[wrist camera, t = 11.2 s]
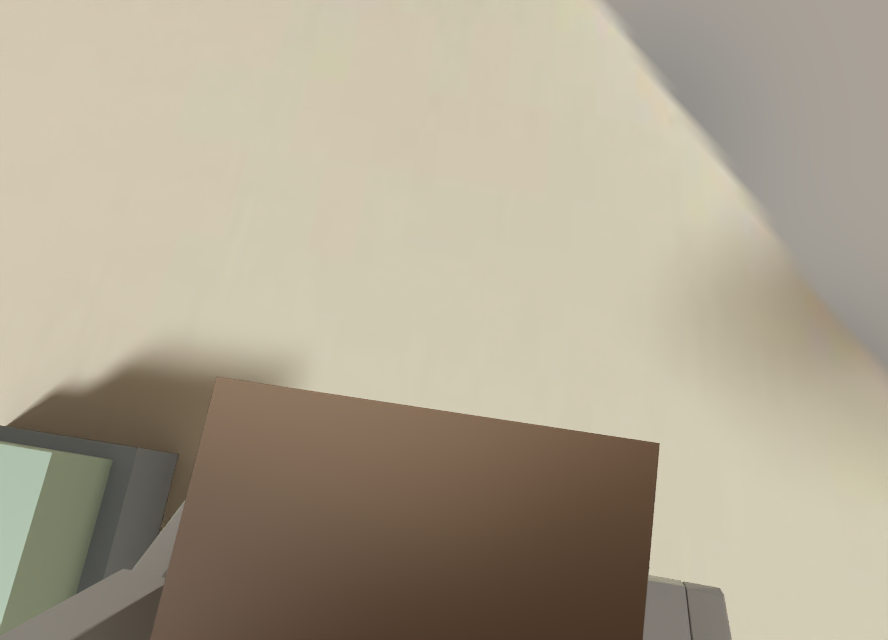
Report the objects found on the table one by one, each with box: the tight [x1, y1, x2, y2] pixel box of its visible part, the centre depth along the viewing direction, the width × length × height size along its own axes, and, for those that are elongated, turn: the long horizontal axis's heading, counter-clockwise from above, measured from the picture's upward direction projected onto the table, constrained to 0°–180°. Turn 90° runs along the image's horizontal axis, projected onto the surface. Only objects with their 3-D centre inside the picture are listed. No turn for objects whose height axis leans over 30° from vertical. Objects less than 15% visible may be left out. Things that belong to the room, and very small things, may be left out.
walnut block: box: [150, 377, 660, 640], centre depth 11 cm, size 5×5×8 cm
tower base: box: [0, 426, 178, 594], centre depth 32 cm, size 10×10×4 cm
